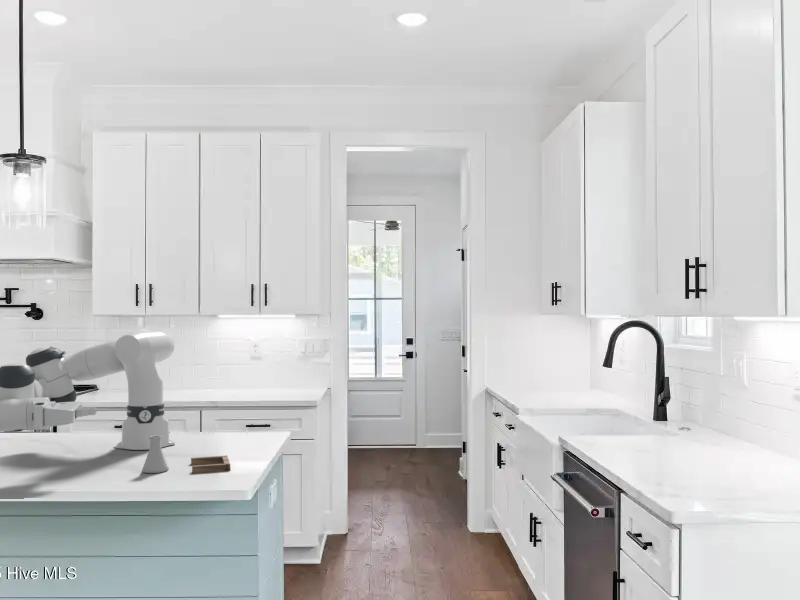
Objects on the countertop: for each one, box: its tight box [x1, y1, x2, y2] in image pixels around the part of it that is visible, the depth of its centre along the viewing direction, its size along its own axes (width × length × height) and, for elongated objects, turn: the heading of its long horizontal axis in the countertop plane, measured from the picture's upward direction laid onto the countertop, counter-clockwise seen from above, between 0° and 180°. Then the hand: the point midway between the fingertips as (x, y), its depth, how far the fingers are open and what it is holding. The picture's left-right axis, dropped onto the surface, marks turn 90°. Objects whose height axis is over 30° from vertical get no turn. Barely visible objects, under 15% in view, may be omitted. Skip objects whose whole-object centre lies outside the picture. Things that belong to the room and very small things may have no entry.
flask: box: [141, 435, 170, 474], centre depth 202 cm, size 7×7×10 cm
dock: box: [190, 455, 231, 474], centre depth 207 cm, size 13×10×2 cm
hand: (96, 411), depth 198 cm, fingers closed
